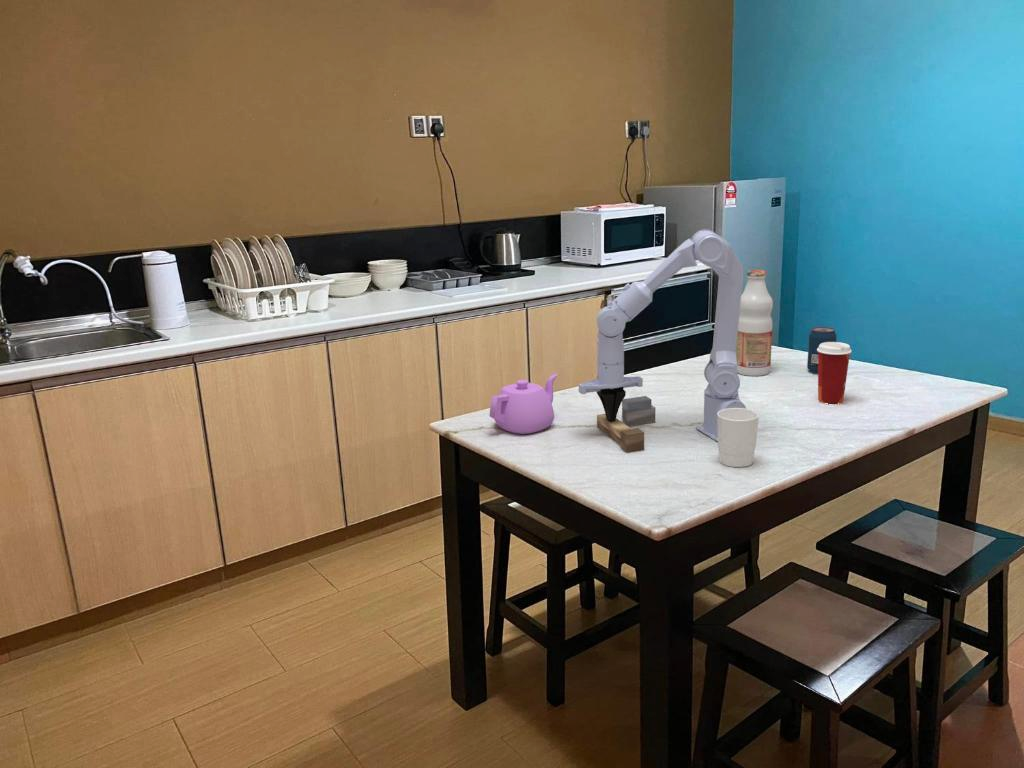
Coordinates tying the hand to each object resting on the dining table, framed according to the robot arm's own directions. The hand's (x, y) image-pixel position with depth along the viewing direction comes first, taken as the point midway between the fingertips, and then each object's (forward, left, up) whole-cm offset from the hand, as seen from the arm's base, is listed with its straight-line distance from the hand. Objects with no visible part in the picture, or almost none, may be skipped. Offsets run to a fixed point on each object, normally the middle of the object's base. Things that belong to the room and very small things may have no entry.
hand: (610, 420), depth 176 cm
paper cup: (-1, -57, -3) cm, 57 cm away
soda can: (+21, -71, -3) cm, 74 cm away
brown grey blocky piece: (-3, -5, -3) cm, 7 cm away
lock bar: (+4, -8, +1) cm, 9 cm away
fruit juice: (+29, -55, -3) cm, 62 cm away
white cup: (-25, -16, -3) cm, 30 cm away
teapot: (+13, +16, -3) cm, 21 cm away
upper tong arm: (-2, 0, -1) cm, 3 cm away
